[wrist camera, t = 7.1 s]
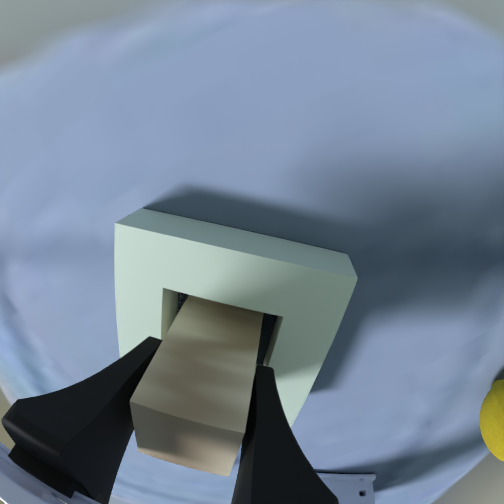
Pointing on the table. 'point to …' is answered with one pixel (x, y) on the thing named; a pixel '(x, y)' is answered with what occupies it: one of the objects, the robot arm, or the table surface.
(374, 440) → the table surface
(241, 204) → the table surface
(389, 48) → the table surface
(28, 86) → the table surface
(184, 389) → the peg
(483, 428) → the lemon
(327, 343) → the socket block
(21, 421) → the robot arm
